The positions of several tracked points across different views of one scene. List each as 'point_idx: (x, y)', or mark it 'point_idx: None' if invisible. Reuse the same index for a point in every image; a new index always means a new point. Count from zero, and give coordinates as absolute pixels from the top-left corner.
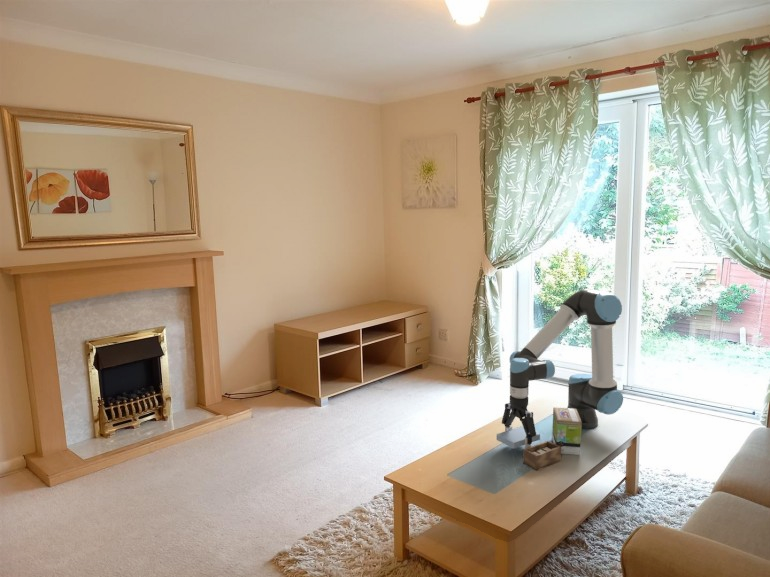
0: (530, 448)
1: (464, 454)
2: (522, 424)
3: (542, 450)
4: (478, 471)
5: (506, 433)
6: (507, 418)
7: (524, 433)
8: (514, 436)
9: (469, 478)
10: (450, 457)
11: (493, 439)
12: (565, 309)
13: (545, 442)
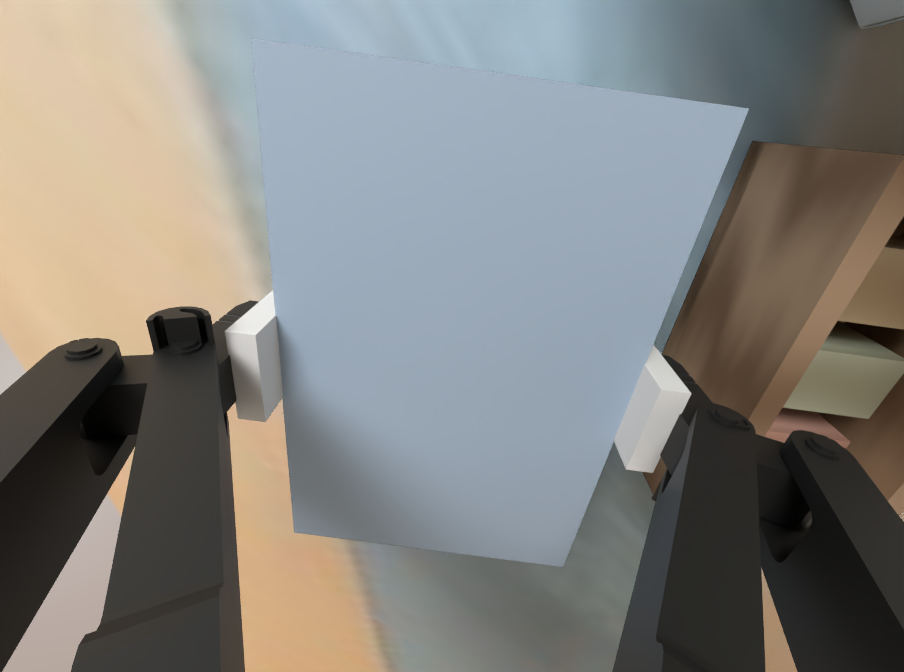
0: None
1: (277, 557)
2: (619, 644)
3: (825, 355)
4: (473, 622)
5: (343, 461)
6: (71, 445)
7: (508, 305)
8: (468, 464)
9: (488, 668)
10: (268, 608)
11: (160, 273)
12: None
13: (879, 244)
